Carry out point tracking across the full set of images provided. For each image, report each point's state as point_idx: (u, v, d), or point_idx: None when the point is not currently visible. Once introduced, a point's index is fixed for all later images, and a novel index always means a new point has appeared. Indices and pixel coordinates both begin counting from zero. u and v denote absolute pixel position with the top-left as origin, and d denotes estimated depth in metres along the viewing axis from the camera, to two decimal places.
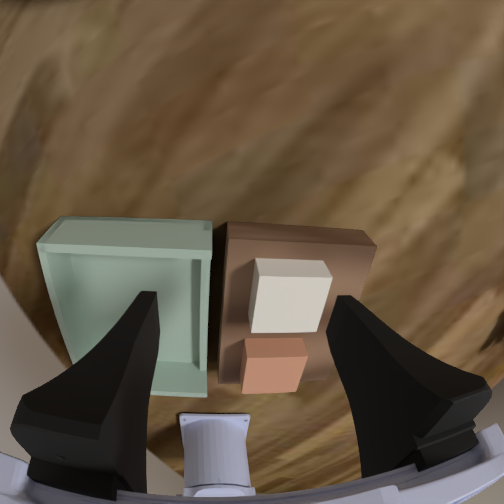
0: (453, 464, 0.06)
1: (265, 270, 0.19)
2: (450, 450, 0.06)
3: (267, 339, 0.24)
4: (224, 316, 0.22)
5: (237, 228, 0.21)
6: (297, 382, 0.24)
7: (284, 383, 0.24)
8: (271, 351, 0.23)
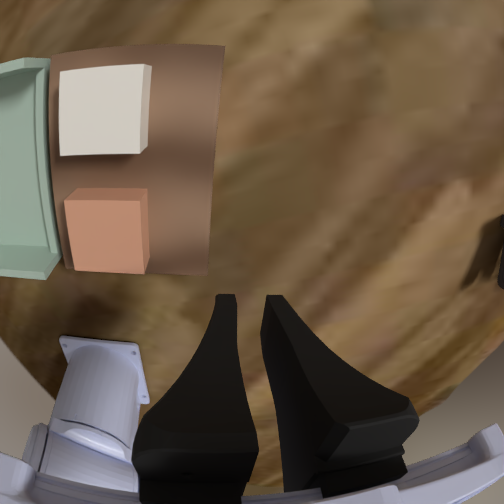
0: None
1: None
2: (365, 478, 0.06)
3: (101, 188, 0.17)
4: (51, 154, 0.15)
5: None
6: (140, 254, 0.17)
7: (122, 254, 0.17)
8: (96, 196, 0.16)
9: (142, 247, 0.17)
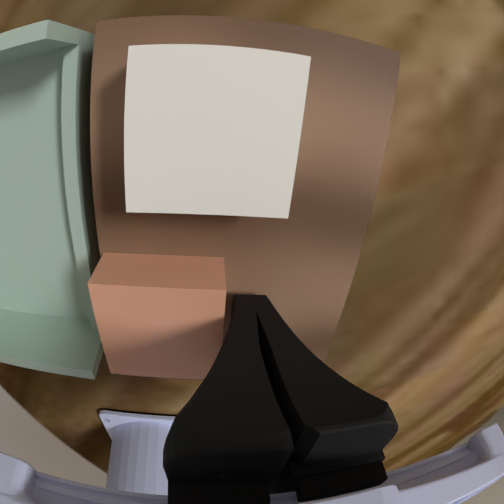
0: None
1: None
2: (341, 484, 0.06)
3: (147, 255, 0.11)
4: (95, 198, 0.10)
5: None
6: None
7: (188, 358, 0.11)
8: (144, 275, 0.10)
9: None
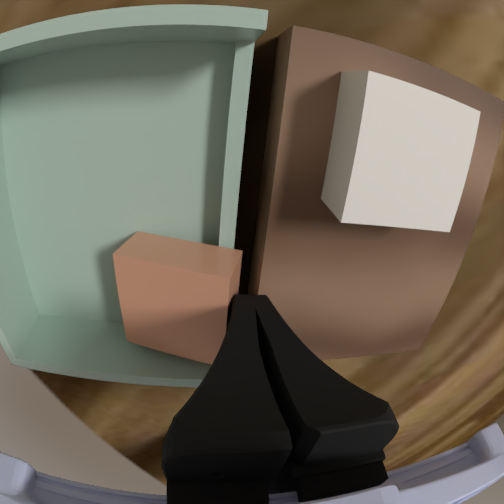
0: None
1: None
2: (342, 484, 0.06)
3: (173, 239, 0.12)
4: (273, 204, 0.11)
5: None
6: None
7: (194, 339, 0.12)
8: (163, 255, 0.11)
9: None
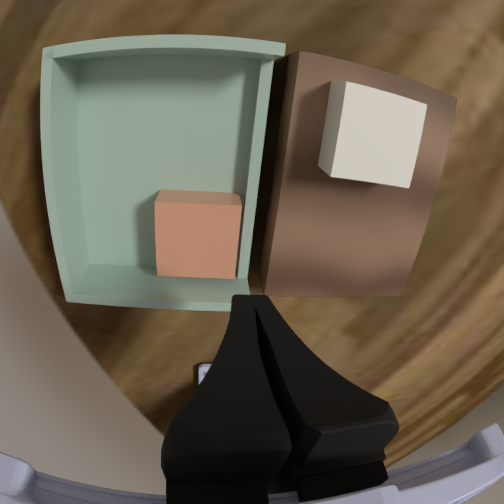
0: None
1: None
2: (342, 484, 0.06)
3: (190, 191, 0.18)
4: (285, 168, 0.16)
5: None
6: (234, 259, 0.18)
7: (214, 259, 0.18)
8: (190, 199, 0.17)
9: (236, 252, 0.18)
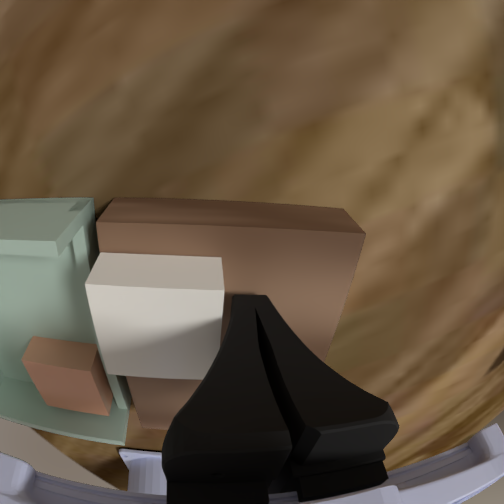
0: None
1: (101, 274, 0.10)
2: (342, 484, 0.06)
3: (55, 340, 0.15)
4: None
5: (122, 206, 0.12)
6: (102, 404, 0.16)
7: (85, 402, 0.15)
8: (50, 356, 0.14)
9: (102, 399, 0.15)
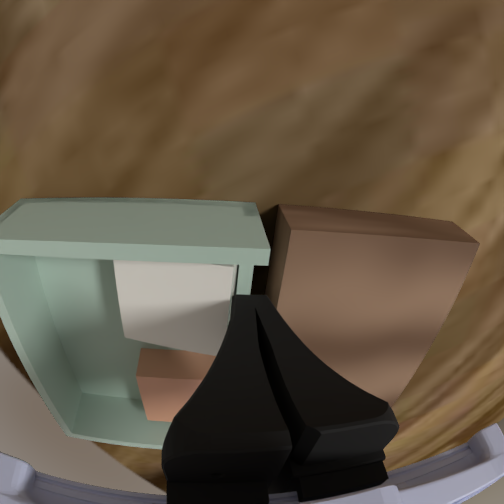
0: None
1: None
2: (342, 484, 0.06)
3: (171, 351, 0.16)
4: None
5: (298, 214, 0.13)
6: None
7: None
8: (172, 369, 0.15)
9: None
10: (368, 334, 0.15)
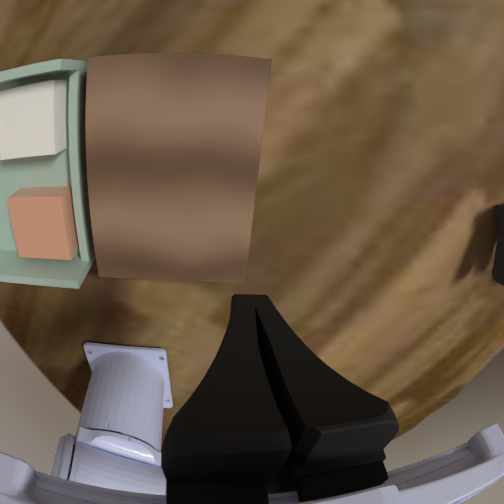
0: None
1: None
2: (343, 484, 0.06)
3: (38, 187, 0.18)
4: (87, 161, 0.16)
5: None
6: (66, 242, 0.18)
7: (52, 242, 0.18)
8: (31, 193, 0.17)
9: (67, 236, 0.18)
10: (169, 148, 0.16)
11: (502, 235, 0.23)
